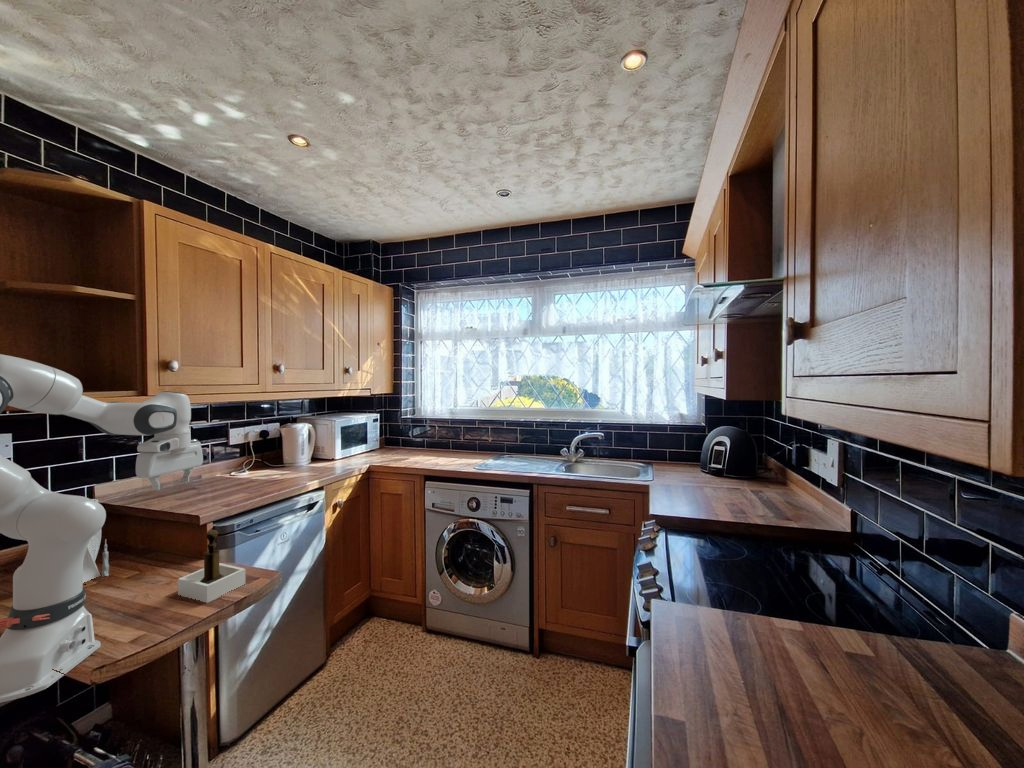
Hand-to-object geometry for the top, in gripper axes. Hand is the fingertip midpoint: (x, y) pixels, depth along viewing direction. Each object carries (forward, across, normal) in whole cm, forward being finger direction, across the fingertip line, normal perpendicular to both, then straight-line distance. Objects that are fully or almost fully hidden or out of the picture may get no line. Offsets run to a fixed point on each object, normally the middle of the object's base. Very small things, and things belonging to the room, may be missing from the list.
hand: (171, 486), depth 128 cm
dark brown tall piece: (+32, -2, +13) cm, 35 cm away
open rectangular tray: (+33, -2, +13) cm, 35 cm away
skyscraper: (+34, -4, -33) cm, 47 cm away
